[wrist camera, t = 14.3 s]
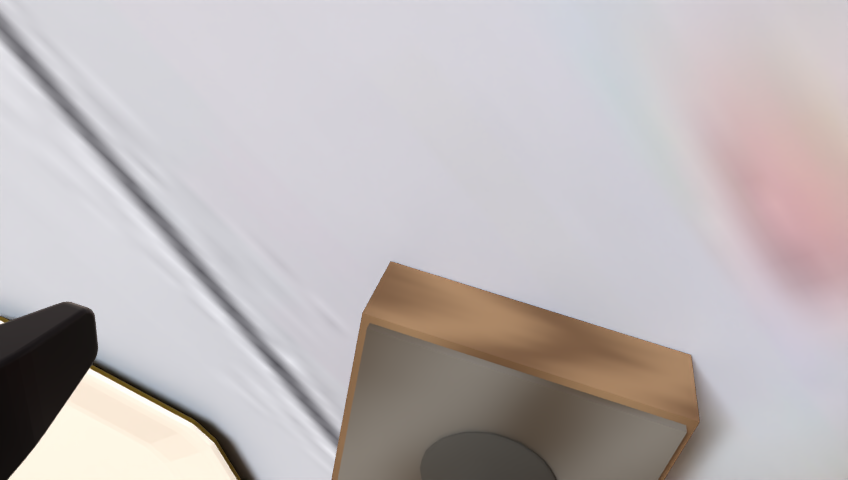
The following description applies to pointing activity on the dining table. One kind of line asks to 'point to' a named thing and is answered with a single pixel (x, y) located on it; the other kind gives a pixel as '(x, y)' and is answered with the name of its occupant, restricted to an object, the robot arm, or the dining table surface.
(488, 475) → the sundae
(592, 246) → the dining table surface
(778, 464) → the dining table surface
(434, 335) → the block
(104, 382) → the plate
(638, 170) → the dining table surface
